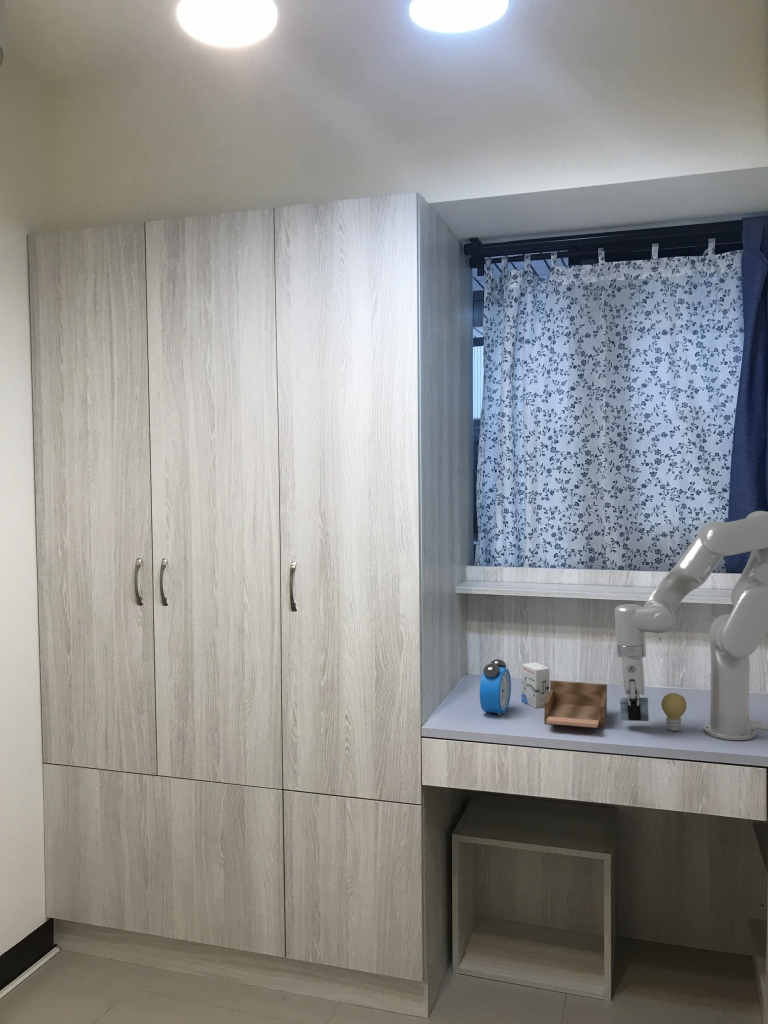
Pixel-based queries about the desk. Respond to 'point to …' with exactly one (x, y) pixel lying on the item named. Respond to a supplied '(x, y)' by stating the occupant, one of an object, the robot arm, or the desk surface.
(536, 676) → the ink box
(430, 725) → the desk surface
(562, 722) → the panel
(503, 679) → the alarm clock
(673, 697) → the light bulb
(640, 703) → the blue gray block
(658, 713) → the desk surface
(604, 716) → the brown open box
